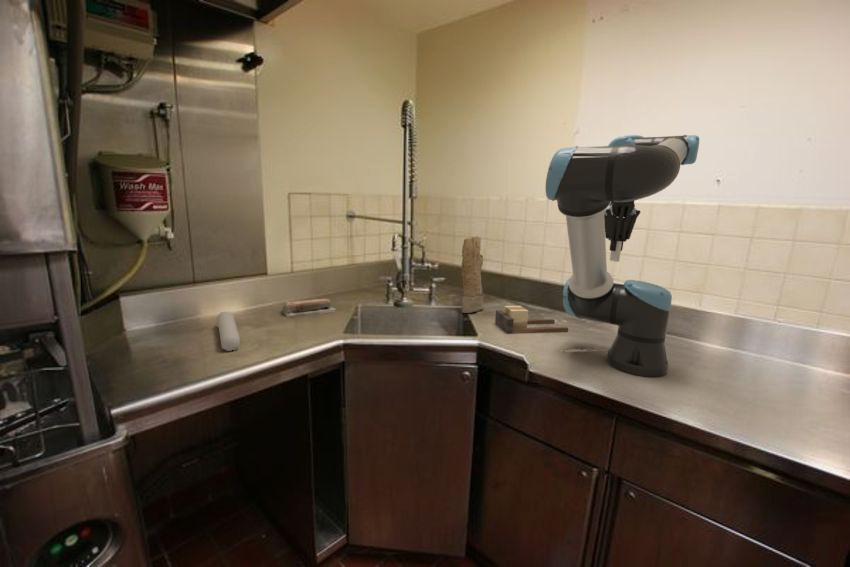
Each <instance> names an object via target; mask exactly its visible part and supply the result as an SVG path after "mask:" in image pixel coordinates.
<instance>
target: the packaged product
mask: <svg viewBox="0 0 850 567" xmlns="http://www.w3.org/2000/svg"><path fill="white" fill-rule="evenodd" d="M280 310H281V312H282V313H283V315H285V317H286V318H288V319H289V318H291V319H292V318H299V317H310V316H316V315H323V314H324V315H326V314H333V313H334V314H335V313H336V311H337V309H336V308H335V307H332V302H331V300H330V299H329V298H314V299H304V300H290V301H285V302H284V303H283V305H282V308H281V309H280Z"/></svg>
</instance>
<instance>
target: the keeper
mask: <svg viewBox="0 0 850 567" xmlns="http://www.w3.org/2000/svg"><path fill="white" fill-rule="evenodd" d="M503 312H504V313H506V314H507V315H508V316H510V317H511V318H513V319H514V322H513V328H528V324H527V322H528V319H529V312H530V311H529V310H528V309H526V308H525V307H523V306H522V305H504V306H503Z"/></svg>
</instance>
